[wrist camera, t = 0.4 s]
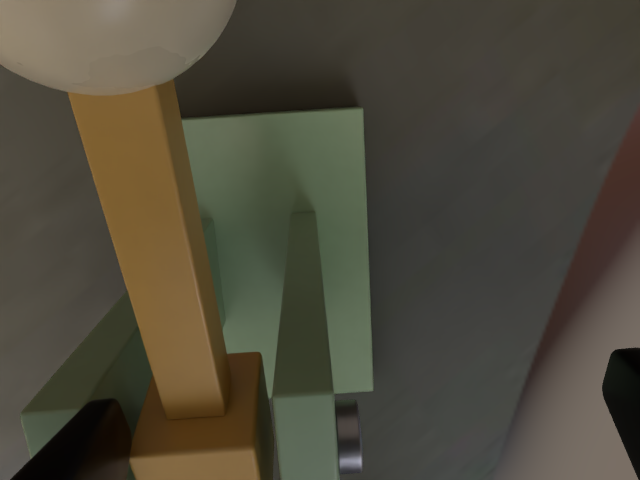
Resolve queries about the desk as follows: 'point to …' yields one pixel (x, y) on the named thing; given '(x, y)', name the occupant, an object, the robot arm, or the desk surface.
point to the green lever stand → (261, 286)
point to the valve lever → (153, 218)
